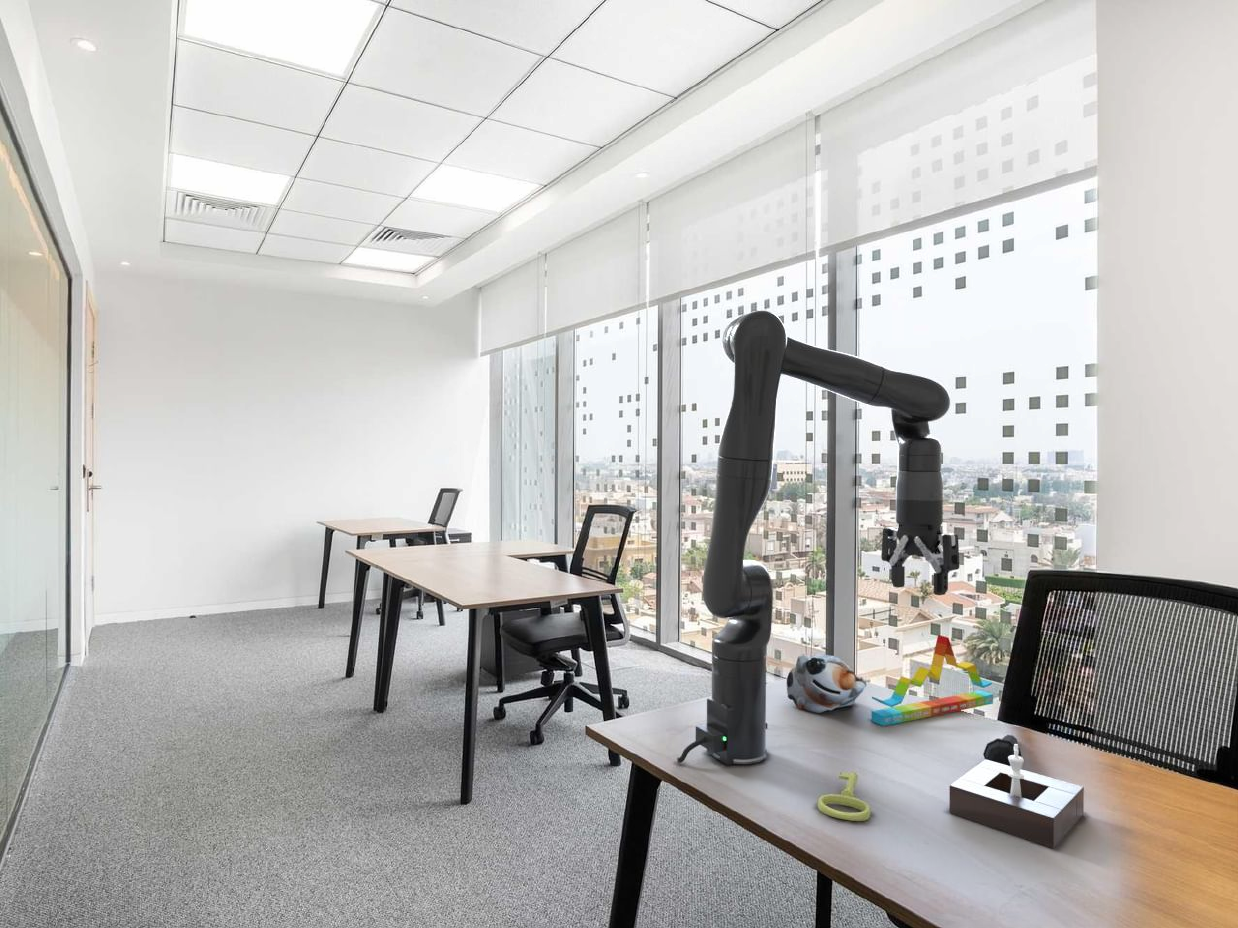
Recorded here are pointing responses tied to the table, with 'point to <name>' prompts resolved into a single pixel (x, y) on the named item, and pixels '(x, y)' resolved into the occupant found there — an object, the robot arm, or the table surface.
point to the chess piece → (1016, 771)
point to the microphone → (1001, 750)
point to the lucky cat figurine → (823, 683)
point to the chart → (935, 705)
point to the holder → (1017, 803)
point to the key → (845, 801)
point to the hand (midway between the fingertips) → (918, 590)
